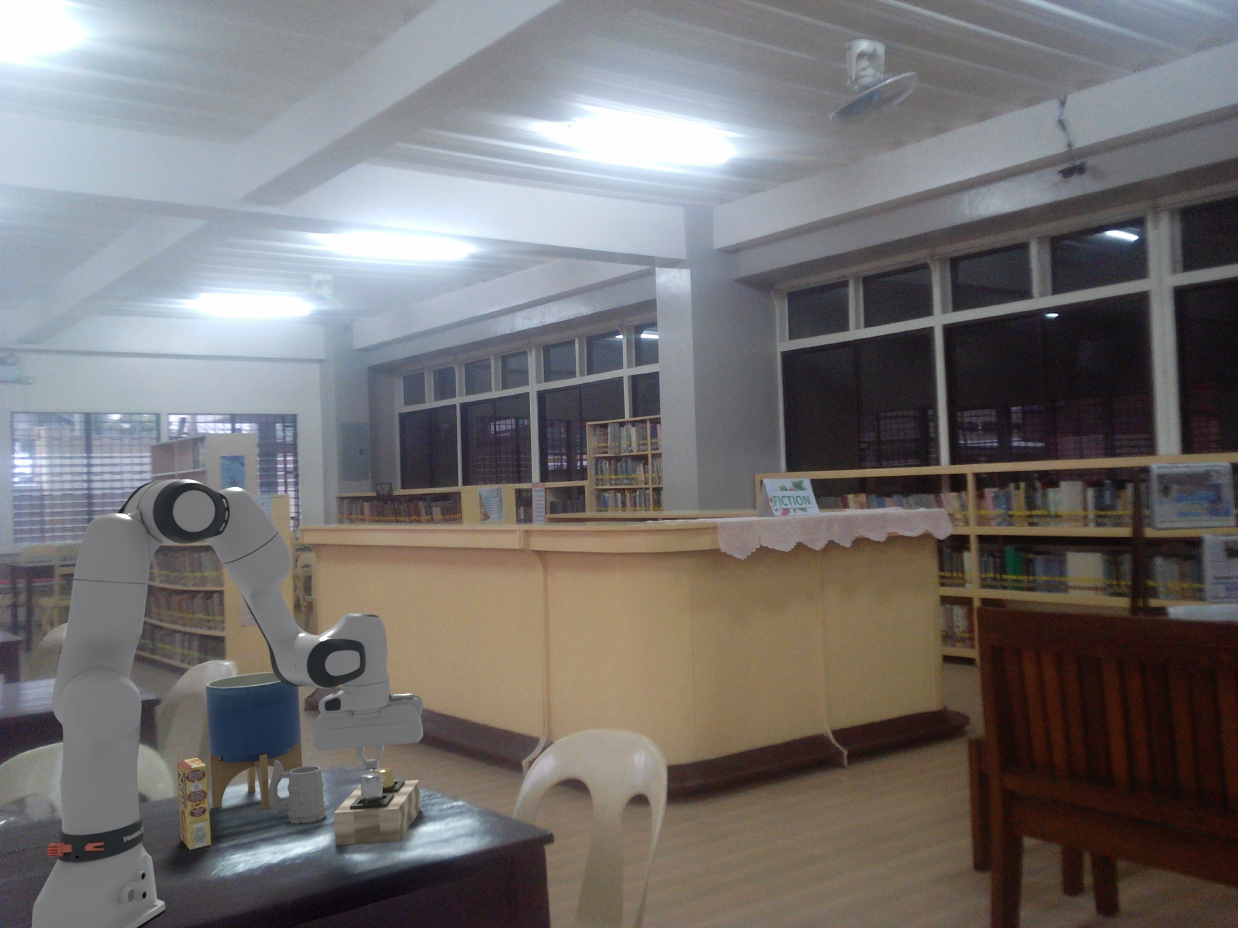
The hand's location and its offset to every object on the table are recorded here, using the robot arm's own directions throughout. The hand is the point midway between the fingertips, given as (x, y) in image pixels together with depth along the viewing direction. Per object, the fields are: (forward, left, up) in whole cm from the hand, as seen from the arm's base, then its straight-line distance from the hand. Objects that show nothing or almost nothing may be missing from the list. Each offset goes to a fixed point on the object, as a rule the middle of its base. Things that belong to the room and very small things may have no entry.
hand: (371, 769), depth 200 cm
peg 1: (0, 0, -8) cm, 8 cm away
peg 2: (+10, 0, -9) cm, 14 cm away
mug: (+14, +19, -13) cm, 27 cm away
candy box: (+2, +35, -13) cm, 37 cm away
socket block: (+5, 0, -12) cm, 13 cm away
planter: (+31, +33, -13) cm, 47 cm away
